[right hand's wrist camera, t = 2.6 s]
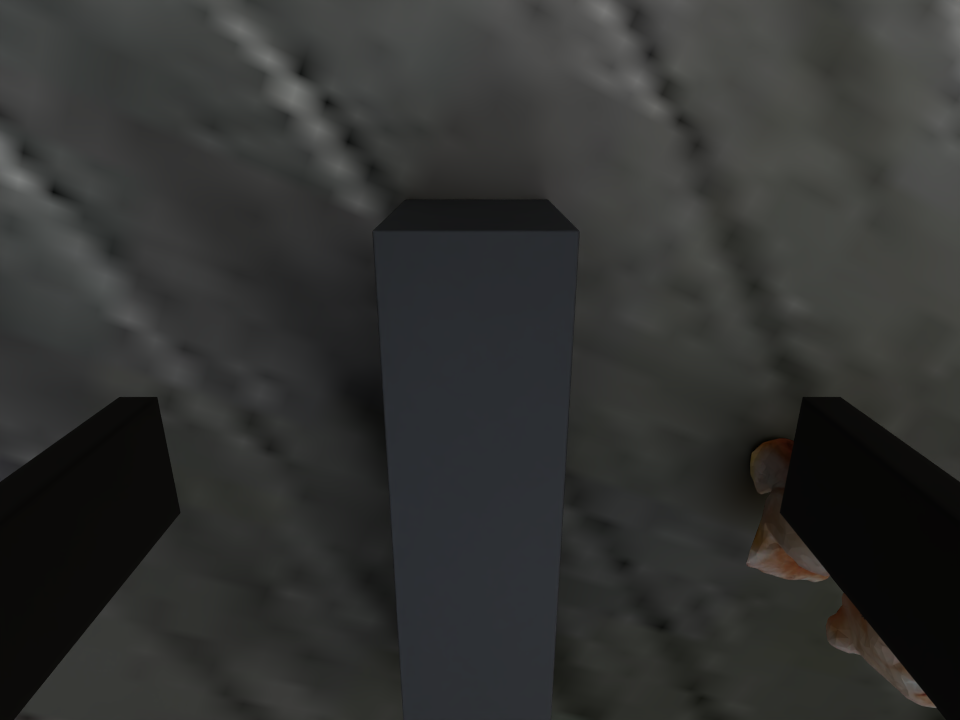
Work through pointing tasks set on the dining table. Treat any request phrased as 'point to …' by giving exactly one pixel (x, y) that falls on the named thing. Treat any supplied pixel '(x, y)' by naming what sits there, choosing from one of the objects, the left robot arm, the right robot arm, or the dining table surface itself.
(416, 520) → the bar
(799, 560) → the figurine
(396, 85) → the dining table surface
